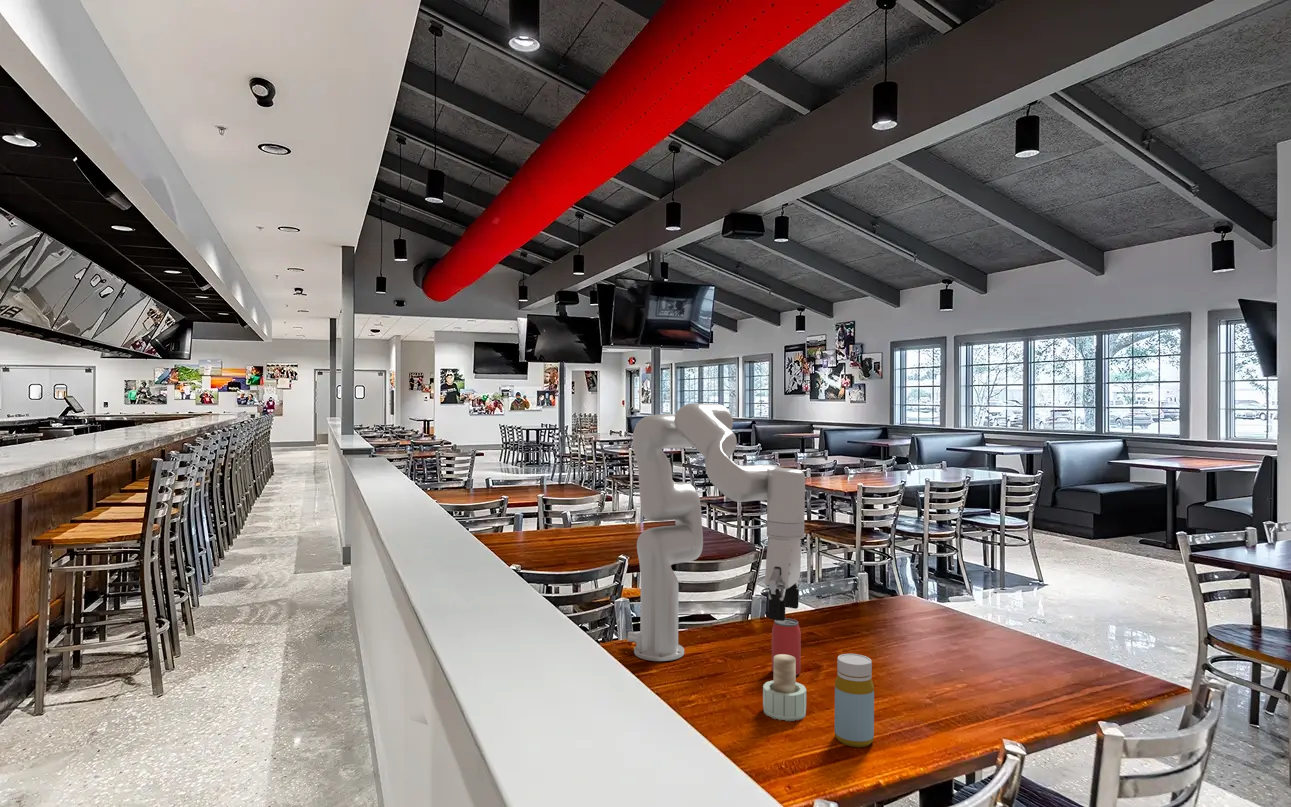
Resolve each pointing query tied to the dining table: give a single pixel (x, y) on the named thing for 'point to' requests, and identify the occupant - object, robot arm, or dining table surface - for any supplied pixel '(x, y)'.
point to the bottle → (854, 701)
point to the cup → (784, 703)
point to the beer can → (787, 640)
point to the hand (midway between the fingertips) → (783, 613)
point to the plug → (784, 673)
